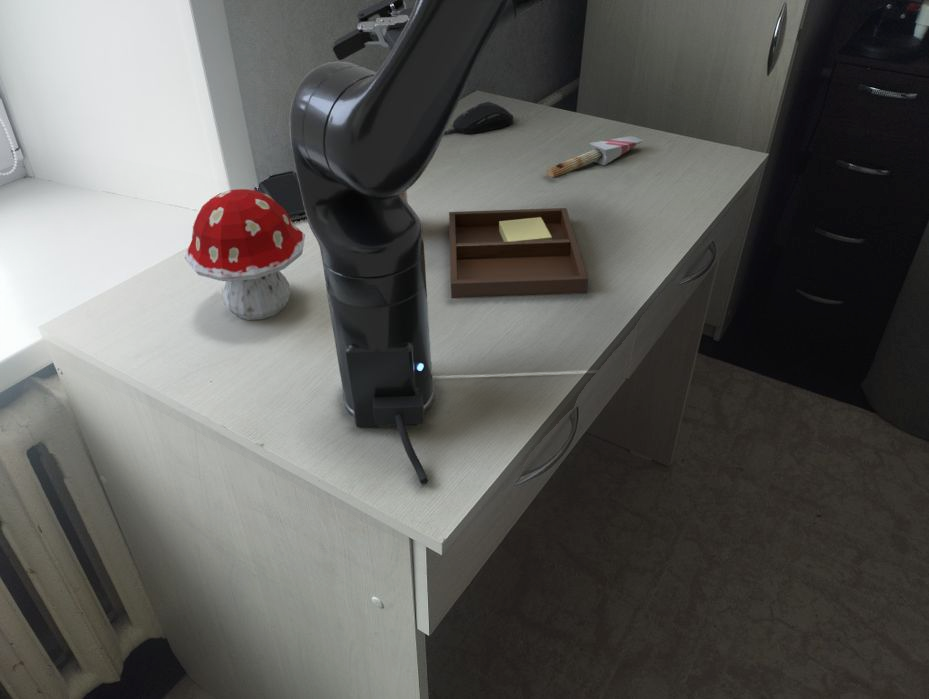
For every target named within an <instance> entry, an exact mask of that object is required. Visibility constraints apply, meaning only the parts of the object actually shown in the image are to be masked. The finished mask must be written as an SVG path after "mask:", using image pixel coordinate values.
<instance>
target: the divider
mask: <svg viewBox="0 0 929 699" xmlns="http://www.w3.org/2000/svg"><path fill="white" fill-rule="evenodd" d="M456 248H457V259H479V258H508V257H536V256H564V255H569V251H570V240H569V239H567V240H539V241H511V242H482V243H457V244H456Z"/></svg>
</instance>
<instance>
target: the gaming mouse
mask: <svg viewBox="0 0 929 699" xmlns="http://www.w3.org/2000/svg"><path fill="white" fill-rule="evenodd" d="M513 120H514V115H513V114H512V113H511V112H509V111H508V110H507V109H506V108H504V107H503V106H502V105H499V104H497V103H494V102H491V101H486V102H482V103H481V102H480V103H478V104H476V105H475V106H473V107H470V109H467V110H466V111H464V112H462V113H461V114H459V115H458V116H457V117H456V118H455V119H454V121H453V123H452V128H447V129H446V131H445V133H444V135H445V134H449V133H453V132H455V131H457V132H458V133H459V132H460V133H464V134H475V133H481V132H486V131H491V130H497V129H501V128H504V127H506V126H508V125H510V124H511V123H512V122H513Z"/></svg>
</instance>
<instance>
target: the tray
mask: <svg viewBox="0 0 929 699" xmlns="http://www.w3.org/2000/svg"><path fill="white" fill-rule="evenodd" d="M537 217H541V218H542V220H543V222H544V224H545V226H546V227H547V229H548V231H549V233H550V235H551V236H552V240H567V239H569V240H570V251H569V255H564V256H536V257H508V258H479V259H457V248H456V244H457V243H482V242H504V241H503V238H502V236H501V234H500V232H499V221H507V220H517V219H527V218H537ZM448 221H449V222H448V224H449V254H450V255H449V261H450V263H449V264H450V267H449V268H450V293H451V296H450V297H451V299H454V298H456V299H457V298H458V299H459V298H481V297H482V298H483V297H484V298H485V297H487V298H489V297H510V296H511V297H512V296H537V295H539V296H541V295H543V296H544V295H568V294H569V295H570V294H571V295H572V294H587V290H588V276H587V272H586V268H585V266H584V261H583V259H582V256H581V252H580V248H579V245H578V241H577V239H576V235H575V232H574V228H573V225H572V222H571V219H570V215H569V212H568V209H567V207H555V208H551V207H550V208H526V209H524V208H523V209H503V210H502V209H497V210H496V209H495V210H494V209H493V210H469V211H468V210H467V211H464V210H463V211H449V212H448Z"/></svg>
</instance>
